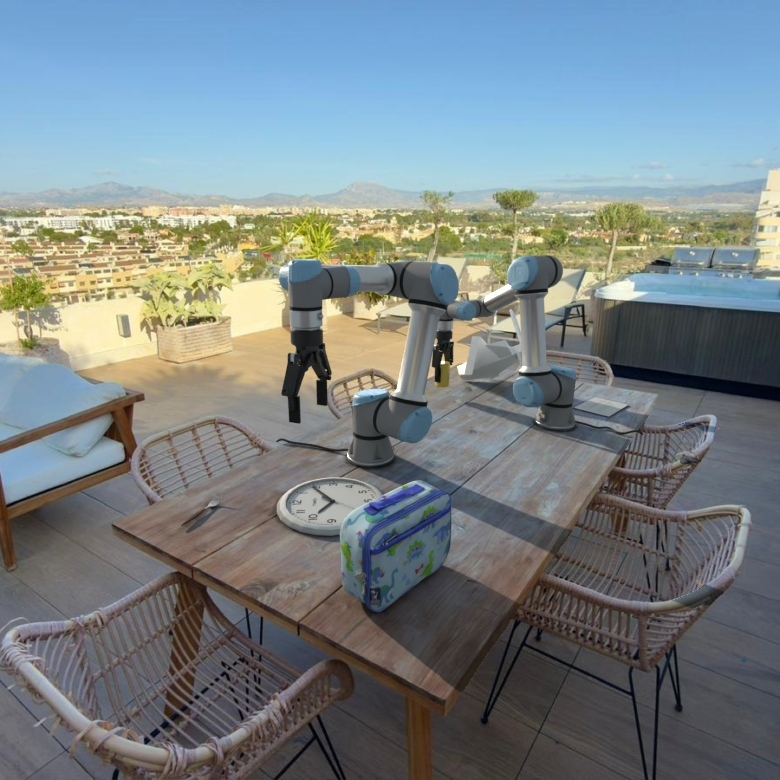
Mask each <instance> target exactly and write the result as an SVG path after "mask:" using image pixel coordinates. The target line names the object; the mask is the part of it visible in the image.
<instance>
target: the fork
mask: <svg viewBox="0 0 780 780" xmlns="http://www.w3.org/2000/svg"><path fill="white" fill-rule="evenodd" d="M224 494H225V493H223V492H220V491H217V492H216V494H215V495H214V496H213V498H212V499H211V500H210V502H209V503H208V504H207V506H206V507H204V508H202V509H200V510H198V511H197V512H195V513H194V514H193V515H192V516H190V517H189V518H188V519H186V520H185V521H184V522H183V523H182V524H181V525H180V526H181V527H183V526H185V525H187V524H189V523H190V522H191V521H193V520H195V519H196V518H198V517H199V516H201V515H202V514H203V513H204V512H205V511H206V510H207V509H208V508H212V507H216V506H218V505H219V504H220V503H221V501H222V498H223V497H224Z"/></svg>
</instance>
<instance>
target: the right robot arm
mask: <svg viewBox="0 0 780 780" xmlns="http://www.w3.org/2000/svg"><path fill="white" fill-rule="evenodd" d="M563 275H564V267H563V264H562V262H561V261H560V260H559V259H558V258H556V257H555V256H553V255H547V254H545V255H523V256H519V257H517V258H515V259H514V260H513V261H512V262H511V264H510V265H509V266H508V269H507V273H506V280H507V284H506V285H505V286H502V287H501V288H499V289H497V290H495V291H493V292H491V293H490V294H488V295H486V296H484V297H482V298H480V299H474V300H473V299H472V300H456V299H455V301H454V302H453V303H452V304H450V305H447V309H446V312H445V313H444V314H442V315H441V316H440V318H439V323H438V328H437V333H436V338H435V340H436V344H434V348H433V353H432V358H431V367H432V368H434V383H435V382H438V383H441V368H440V365H441V361H443V358H444V361H448V362H450V366H453V363H454V346H455V341H452V339H453V333H454V331H453V329H454V319H455V320H458V321H459V320H460V321H462V322H464V321H465V322H469V321H472V320H473V319H477V318H489V317H492V316H494V315H496V312H497V311H499V310H501V309H504V308H505V307H507V306H510V305H512V304H514V303H516V302H519V320H520V321H519V322H520V331H521V344H522V367H521V366H520V368H519V369H518V377H517V378H516V379H515V381H514V382H513V384H512V393H513V396H514V398H515V399H516V401H518V403H519V404H520V405H521V406H523V407H526V408H538V410H537V411H536V413H535V416H534V424H535V425H536V426H537V427H539V428H542V429H544V430H549V431H556V432H567V431H572V430H574V429H575V428H576V424H578V425H582V426H586V427H589V428H592V429H595V430H605V429H606V430H610V431H612V432H613V433H614V434H617V435H629V434H632V433H638V434H640V435H641V436H644V433H643V432H642V431H641V430H638V429H631V430H628V431H618V430H616V429H614V428H612V427H611V426H606V425H605V426H604V425H603V426H597V425H592V424H590V423H586V422H582V421H579V420H576V418H575V417H576V416H575V413H574V407H573V405H574V398H575V390H576V383H577V372H576V371H575V369H572V368H571V367H570V368H569V367H566V366H561V365H551V364H549V365H548V363H547V362H548V360H547V359H548V358H547V339H546V338H547V336H546V313H545V297H546V296H547V295H548V294H549V289H550V288H552V287H555V286H556V285H558V284H559V283H560V281H561V280H562V278H563ZM450 372H451V368H450V369H449V376H450V374H451V373H450Z"/></svg>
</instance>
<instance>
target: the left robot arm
mask: <svg viewBox="0 0 780 780" xmlns="http://www.w3.org/2000/svg"><path fill="white" fill-rule="evenodd" d="M278 281H279V284H280V286H281V288H282V289H283V290H285V291H286V292H288V305H289V306H288V308H289V326H290V327H291V329H290V330H289V331H290V333H289V334H290V343H291V345H292V346H294V347H295V352H288V353H287V364H286V369H285V373H284V379H283V383H282V388H281V393H280V395H281V396H283V397H287V410H288V422H289V423H292V424H301V423H302V413H301V396H300V395H299V392H300V388H301V386H302V383H303V380H304V377H305V375H306V372H308V371H309V369H310V368H311V369H312V370H313V372H314V374H315V376H316V378H317V379H316V380H315V382H316V383H315V385H316V388H315V389H316V405H318V406H323V407H327V406H328V405H329V403H328V402H329V401H328V381H331V380H332V375H333V372H332V369H331V365H330V362H329V357H328V354H327V351H326V343H325V342H324V330H323V328H322V326H323V318H324V314H323V301H324V300H331V299H332V300H333V299H341V298H342V299H343V298H344V299H347V298H349V297H353V296H356V295H357V294H358V293H375V294H376V295H377V296H388V297H394V298H399V299H403V300H408V302H407V305H408V307H409V309H410V311H411V312H410V319H409V323H408V327H407V333H406V339H405V343H404V348H403V354H402V359H401V364H400V371H399V374H398V380H397V385H396V389H394V390H393V391H392V392H390V391H389V390H388V389H386V388H369V389H363V390H359V391H357V392H356V393H354V394H353V396H352V405H351V411H352V412H351V413H352V415H351V417H352V437H351V441H350V443H349V446H348V448H330V447H326V446H322V445H319V444H315V443H314V444H312V443H307V442H299V441H293V440H288V439H286V438H283V437H281V438H278V439H276V440H275V443H279V442H285V443H288V444H293V445H300V446H306V447H313V448H318V449H322V450H326V451H329V452H347V453H346V454H347V455H346V457H347V458H346V459H347V461H348V462H349V464H352V465H354V466H356V467H361V468H366V469H367V468H370V469H371V468H373V469H374V468H381V467H384V466H387V465H389V464H391V463H392V462H393V461H394V459H395V457H394V456H395V452H394V451H395V445H392V443H391V440H390V438H391V439H395V440H398V441H400V442H402V443H407V444H416V443H420V442H421V441H422V440H423V439H424V438H425V437H426V436H427V434H428V433H429V431H430V429H431V427H432V423H433V413H432V410H431V409H430V408H429V407H428V403H429V400H428V398H427V397H426V395H425V393H426V388H427V382H428V378H429V372H430V367H431V364H432V356H433V348H434V345H435V343H436V333H437V328H438V323H439V318H440V316H441V315H442V314H444V313H445V312H446V309H447V305H450V304H452V303H453V302H454V301H455V300H456V299H457V298H458V295H459V290H460V289H459V288H460V283H459V278H458V274H457V272H456V270H455V269H454V268H453V266H451V265H450V264H449V263H444V262H443V263H442V262H438V261H435V262H434V261H415V260H402V261H394V262H378V263H376V264H375V265H357V264H331V263H329V264H328V263H322V261H321V260H320V259H318V258H317V259H316V258H293V259H290V261H288V262H287V263H285V264H284V265H282V266H281V267H280V270H279V272H278Z"/></svg>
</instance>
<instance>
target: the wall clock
mask: <svg viewBox="0 0 780 780" xmlns="http://www.w3.org/2000/svg"><path fill="white" fill-rule="evenodd" d="M384 494H385V493H383V492H382V491H381V490H380V489H379V488H377V487H376V486H374V485H372V484H371V483H369V482H365V481H362V480H359V479H355V478H349V477H338V476H337V477H335V476H333V477H332V476H331V477H322V478H317V479H312V480H307V481H305V482H302V483H299V484H297V485H295V486H293V487H292V488H290V489H288V490H287V491H286V492H285V493H284V494H283V495H281V496H280V498H279V499H278V502H277V503H276V515H277V517H278V518H279V520H280V521H281V522H282V523H283V524H285V525H286V526H287V527H288V528H290V529H293V530H295V531H297V532H299V533H303V534H308V535H312V536H327V537H328V536H329V537H331V536H332V537H333V536H340V530H341V526H342V523H343V521H344V519H345V518H346V516H347V515H348V514H349V513H350V512H351V511H353V510H354V509H356V508H358V507H360V506H362V505H364V504H366V503H368V502H370V501H372V500H374V499H376V498H378V497H380V496H382V495H384Z"/></svg>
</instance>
